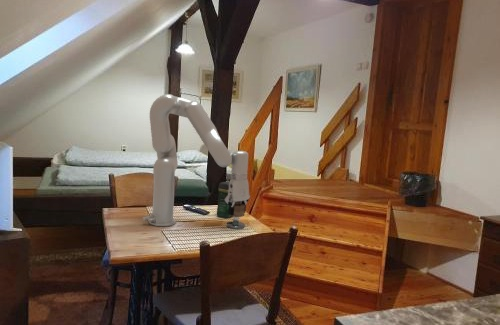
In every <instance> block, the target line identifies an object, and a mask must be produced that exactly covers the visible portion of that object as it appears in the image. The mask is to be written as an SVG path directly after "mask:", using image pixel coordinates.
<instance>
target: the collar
mask: <svg viewBox="0 0 500 325" xmlns="http://www.w3.org/2000/svg"><path fill="white" fill-rule="evenodd" d="M231 204H232V203H231ZM233 207H234V215H231V216H232V217H233V216H234V217H239V218H241V217H244V216H245V213H246V211H245V204H242V203H241V202H235V204H234V206H233ZM244 212H245V213H244Z"/></svg>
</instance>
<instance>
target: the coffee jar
mask: <svg viewBox="0 0 500 325" xmlns="http://www.w3.org/2000/svg"><path fill="white" fill-rule="evenodd" d="M229 184H230V180H228V181H227V180H226V181H222V182H220V183H219V185H218V199H217V200H218V201H217V207H216V208H217V210H216V216H217V217H219V218H222V219H223V218H226V219H228V218H231V217H232V218H233V216H231V215H230V214H228V211H229V206H228V205H227V203H226V201H225V198H226V197H227V196H228V190H229ZM231 203H232V202H231Z"/></svg>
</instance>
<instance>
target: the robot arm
mask: <svg viewBox="0 0 500 325" xmlns="http://www.w3.org/2000/svg"><path fill="white" fill-rule="evenodd" d="M150 106H151V107H150V108H149V109H150V110H149V123H150V125H149V126H150V133H151V143H152V144H151V146H152V148H153V150H154V151H155V152H156V156H157V158H156V160H155V161H154V163H153V170H152V172H153V195H152V199H153V200H152V212H151V213H150V215H148V216H147V215H146V216H142V220H143V222H146V221H148V224H149V225H151V226H154V227H155V226H156V227H170V226H174V225H175V224H177V220H176V218H174V207H175V206H174V205H175V203H174V202H175V180H176V179H175V173H176V170H177V168H178V164H179V162H178V154H177V145H176V140H175V138H174V136H173V135H172V134H171V128H170V127H171V126H170V120H169V116H170V114H171V115H176V116H179V117H182V118H187V119H188V121H189V122H190V124H191V125H192V127H193V128H194V130H195V131H196V133H197V135H198V136H199V138H200V140H201V141H202V143H203V144H204V146H205V147H206V149H207V151H208V152H209V153H210V155H211V157H212V158H213V159H214V162H215V163H216V164H217V165H218V166H219V167H221V168H228V167H229V166H230V165H231V172H230V173H231V174H230V176H229V178H230V180H229V181H230V184H229V190H228V196H227V197H226V198H225V201H226V203H227V205H228V206H229V211H228V214H230V215H234V207H233V206H234V204H235V203H242V204H245V212H244V214H245V213H246V209H247V205H248V202H249V199H250V198H251V195H250V188H249V187H250V186H249V185H250V184H249V180H248V170H249V169H248V166H249V153H248V151H245V150H229V149H228V148H227V147H226V145H225V143H224V142H223V140H222V138H221V137H220V135H219V132H218V130H217V127H216V126H215V124H214V123H213V121H212V119H211V118H210V117H209V115H208V113H207V112H206V111H205V109H204V107H203V105H202V104H201V103H200V102H198V101H196V100H195V101H193V100H190V99H186V98H183V97H179V96H176V95H173V94H172V93H171V94H170V93H165V94H162V95H160V96H159V97H157V98H156V99H155V100H154V101H153V102H152V103H151V105H150ZM231 202H232V204H231Z"/></svg>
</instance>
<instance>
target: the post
mask: <svg viewBox="0 0 500 325" xmlns="http://www.w3.org/2000/svg"><path fill="white" fill-rule="evenodd" d="M225 226H226V228H228V229H233V230H243V229H245V227H246V224H245V223H243V222H241V221H240V217H234V216H232V221H228V222H226V225H225Z"/></svg>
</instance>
